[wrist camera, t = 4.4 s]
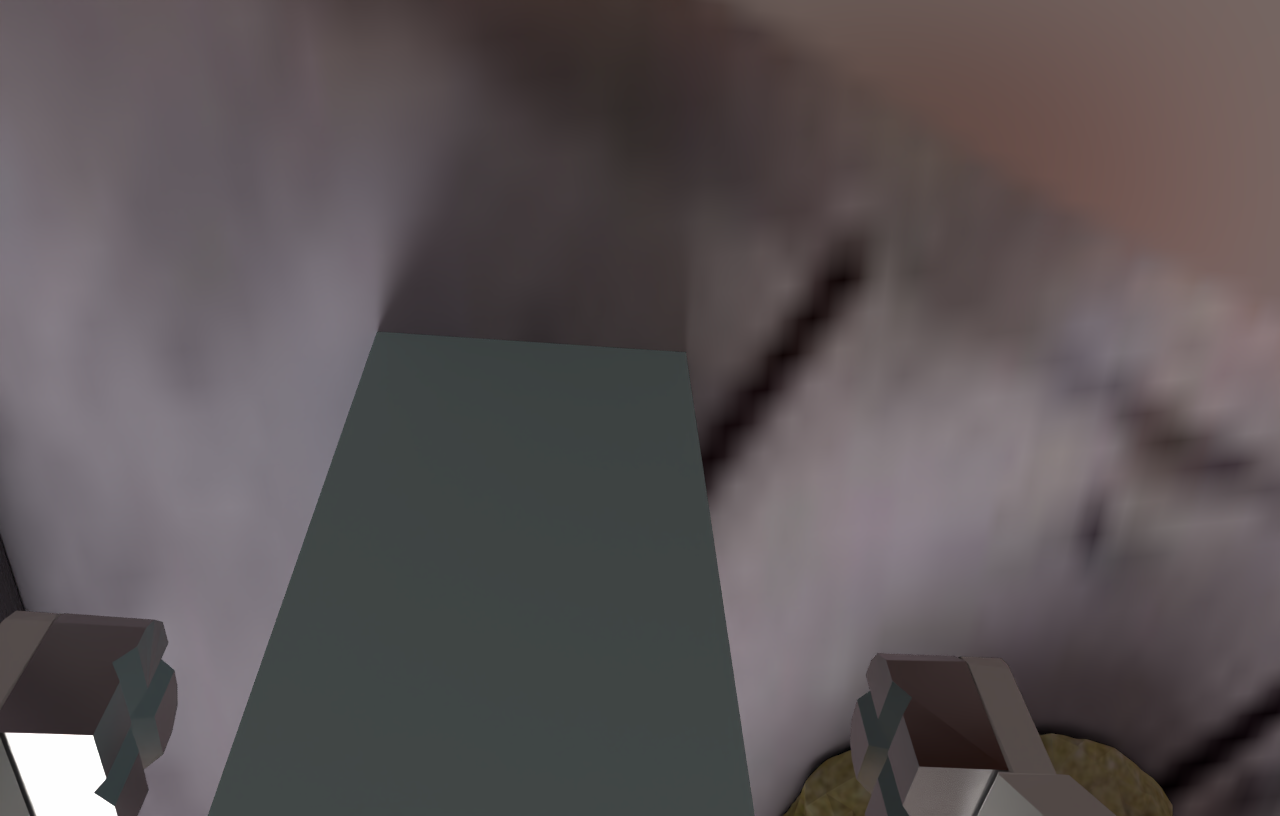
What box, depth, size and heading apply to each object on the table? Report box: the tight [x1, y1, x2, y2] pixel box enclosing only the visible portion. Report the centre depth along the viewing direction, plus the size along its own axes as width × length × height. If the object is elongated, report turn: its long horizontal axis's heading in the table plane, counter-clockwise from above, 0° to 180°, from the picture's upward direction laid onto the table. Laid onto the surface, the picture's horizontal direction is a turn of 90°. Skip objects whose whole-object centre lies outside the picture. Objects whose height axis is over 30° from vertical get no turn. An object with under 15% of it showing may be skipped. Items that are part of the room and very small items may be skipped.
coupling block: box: [208, 332, 755, 816], centre depth 12 cm, size 4×6×7 cm
